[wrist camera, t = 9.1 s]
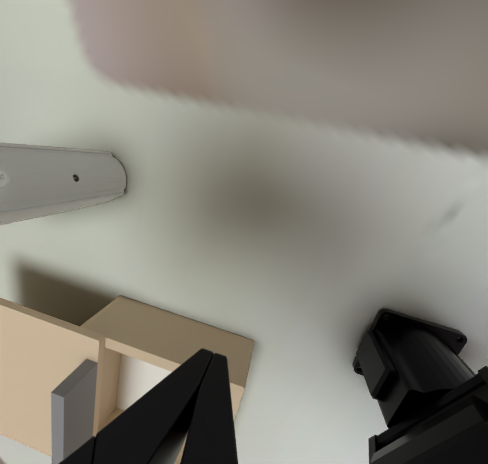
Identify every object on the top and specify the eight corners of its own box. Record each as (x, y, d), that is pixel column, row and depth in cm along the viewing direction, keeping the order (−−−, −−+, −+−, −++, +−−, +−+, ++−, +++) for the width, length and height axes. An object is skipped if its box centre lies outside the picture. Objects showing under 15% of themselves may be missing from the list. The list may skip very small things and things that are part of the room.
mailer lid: (104, 335, 19) (64, 373, 16) (94, 466, 24) (62, 516, 20) (-47, 280, 20) (-115, 304, 17) (-27, 414, 25) (-76, 453, 22)
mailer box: (254, 340, 23) (244, 387, 18) (219, 450, 27) (204, 510, 23) (120, 295, 24) (78, 327, 19) (109, 407, 29) (74, 455, 24)
